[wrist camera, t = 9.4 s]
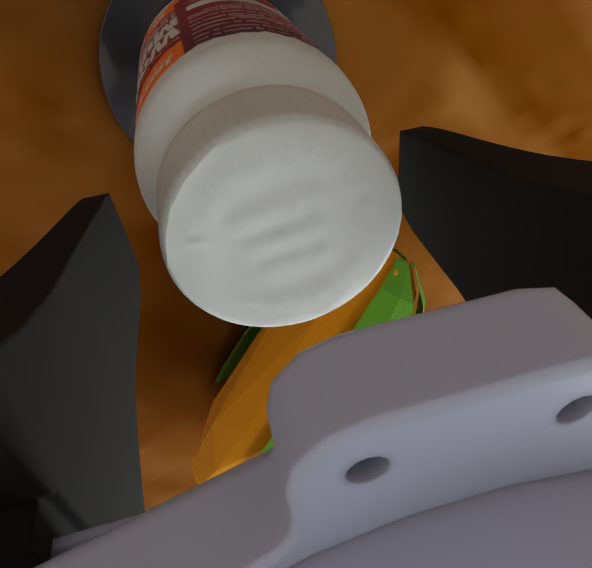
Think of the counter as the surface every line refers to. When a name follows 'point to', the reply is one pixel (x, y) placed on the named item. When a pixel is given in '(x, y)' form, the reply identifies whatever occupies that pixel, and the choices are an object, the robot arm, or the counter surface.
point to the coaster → (133, 28)
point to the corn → (277, 354)
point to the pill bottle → (258, 165)
